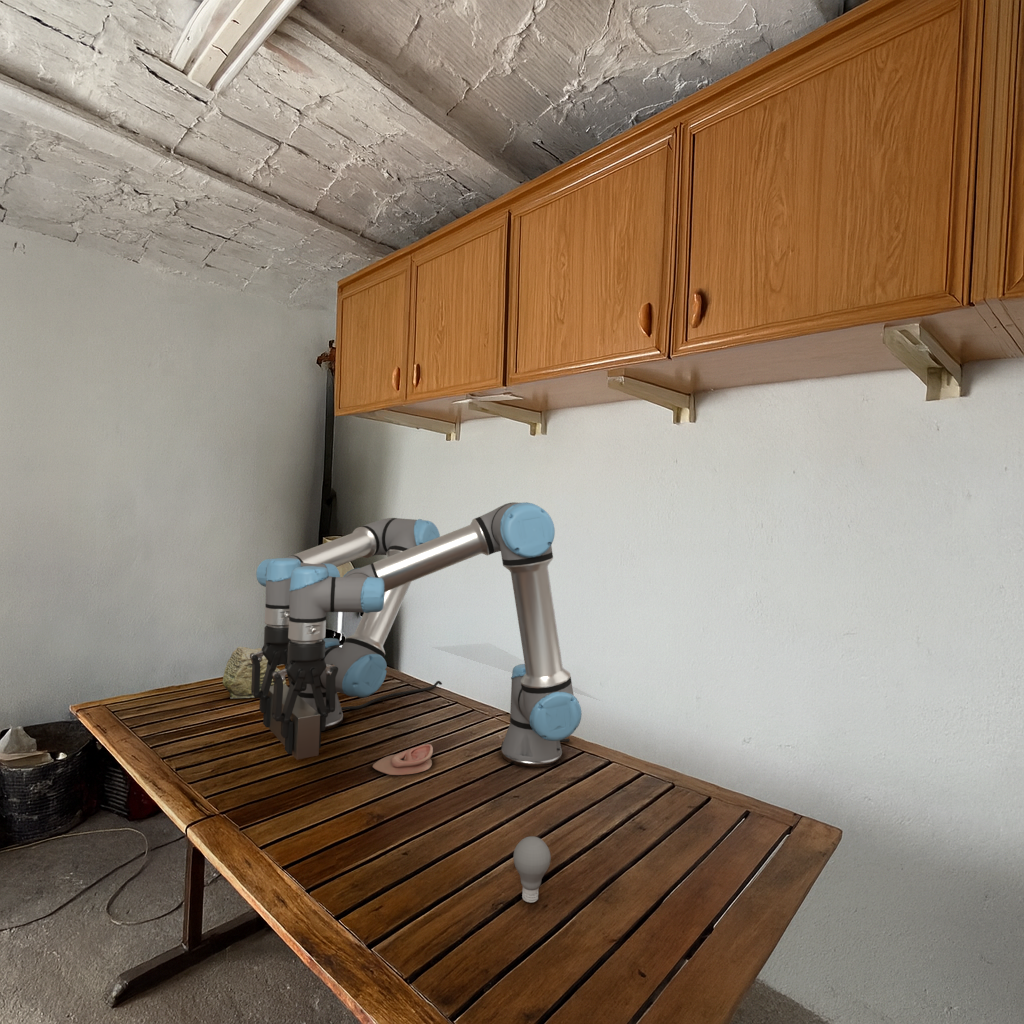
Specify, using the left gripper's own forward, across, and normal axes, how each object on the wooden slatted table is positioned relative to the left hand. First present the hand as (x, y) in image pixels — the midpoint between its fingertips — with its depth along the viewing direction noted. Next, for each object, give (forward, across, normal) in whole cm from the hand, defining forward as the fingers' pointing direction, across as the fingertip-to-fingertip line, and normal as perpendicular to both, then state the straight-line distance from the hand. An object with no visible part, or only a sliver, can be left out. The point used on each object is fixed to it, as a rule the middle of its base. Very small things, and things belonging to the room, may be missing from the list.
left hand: (278, 723), depth 149 cm
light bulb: (+10, +19, -72) cm, 76 cm away
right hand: (0, 0, -18) cm, 18 cm away
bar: (+1, 0, -9) cm, 9 cm away
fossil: (+10, +9, +55) cm, 56 cm away
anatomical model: (+10, +25, -16) cm, 31 cm away
